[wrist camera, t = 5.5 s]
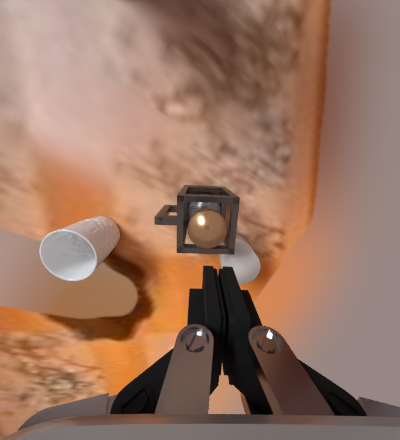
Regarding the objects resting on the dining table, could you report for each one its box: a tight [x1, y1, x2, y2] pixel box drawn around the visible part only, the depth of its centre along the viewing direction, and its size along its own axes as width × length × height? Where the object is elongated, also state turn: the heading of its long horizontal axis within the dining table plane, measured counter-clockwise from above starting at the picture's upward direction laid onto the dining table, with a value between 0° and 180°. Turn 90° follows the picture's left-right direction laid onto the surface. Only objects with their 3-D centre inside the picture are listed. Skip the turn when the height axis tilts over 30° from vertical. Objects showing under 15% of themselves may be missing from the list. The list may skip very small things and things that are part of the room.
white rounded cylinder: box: [218, 233, 261, 284], centre depth 34 cm, size 6×6×8 cm
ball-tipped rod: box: [188, 194, 227, 248], centre depth 27 cm, size 5×5×11 cm
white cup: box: [40, 216, 120, 281], centre depth 31 cm, size 8×8×10 cm
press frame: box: [155, 185, 240, 255], centre depth 29 cm, size 7×10×13 cm
